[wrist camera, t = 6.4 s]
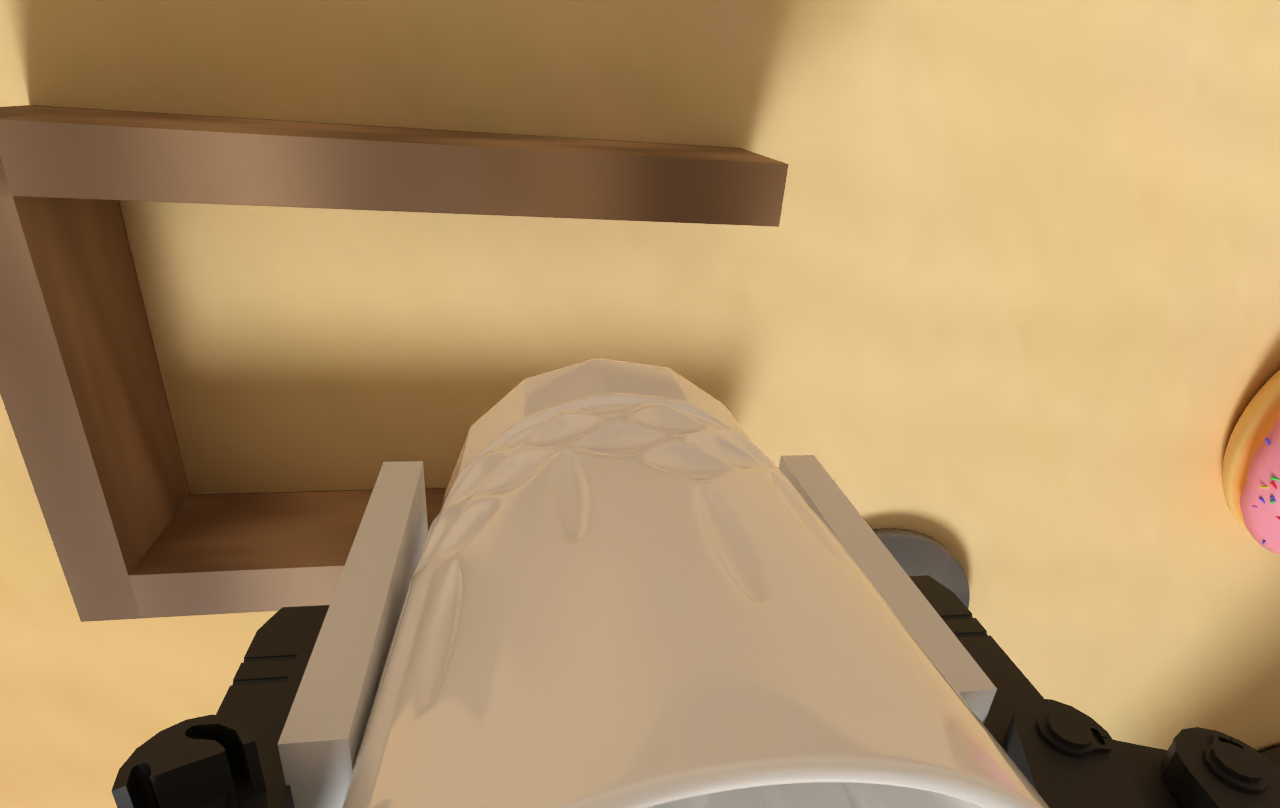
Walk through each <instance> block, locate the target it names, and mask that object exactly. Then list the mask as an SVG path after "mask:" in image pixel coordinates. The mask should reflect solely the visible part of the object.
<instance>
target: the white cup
mask: <svg viewBox="0 0 1280 808" xmlns="http://www.w3.org/2000/svg"><path fill="white" fill-rule="evenodd" d="M342 808H1050V807H1049V806H1048V805H1047V803H1046V802H1045V801H1044V800H1043V798H1042V797H1041V796H1040V794H1039V793H1038V792H1037V791H1036V789H1035V788H1034V787H1033V786H1032V784H1031V783H1030V782H1029V781H1028V779H1027V778H1026V777H1025V776H1024V774H1023V773H1022V772H1021V771H1020V769H1019V768H1018V767H1017V765H1016V764H1015V763H1014V762H1013V760H1012V759H1011V758H1010V757H1009V755H1008V754H1007V753H1006V752H1005V750H1004V749H1003V748H1002V747H1001V745H1000V744H999V743H998V741H997V740H996V739H995V738H994V736H993V735H992V734H991V733H990V731H989V730H988V729H987V728H986V726H985V725H984V724H983V723H982V721H981V720H980V719H979V717H978V716H977V715H976V714H975V712H974V711H973V710H972V709H971V707H970V706H969V705H968V704H967V702H966V701H965V700H964V698H963V697H962V696H961V695H960V693H959V692H958V691H957V690H956V688H955V687H954V686H953V684H952V683H951V682H950V681H949V679H948V678H947V677H946V676H945V674H944V673H943V672H942V670H941V669H940V668H939V667H938V665H937V664H936V663H935V662H934V660H933V659H932V658H931V656H930V655H929V654H928V653H927V651H926V650H925V649H924V648H923V646H922V645H921V644H920V642H919V641H918V640H917V639H916V637H915V636H914V635H913V633H912V632H911V631H910V630H909V628H908V627H907V626H906V625H905V623H904V622H903V621H902V619H901V618H900V617H899V616H898V614H897V613H896V612H895V610H894V609H893V608H892V607H891V605H890V604H889V603H888V602H887V600H886V599H885V598H884V596H883V595H882V594H881V593H880V591H879V590H878V589H877V588H876V586H875V585H874V584H873V582H872V581H871V580H870V579H869V577H868V576H867V575H866V573H865V572H864V571H863V570H862V568H861V567H860V566H859V564H858V563H857V562H856V561H855V559H854V558H853V557H852V556H851V554H850V553H849V552H848V551H847V549H846V548H845V547H844V546H843V544H842V543H841V542H840V541H839V539H838V538H837V537H836V536H835V535H834V533H833V532H832V531H831V530H830V529H829V527H828V526H827V525H826V524H825V523H824V522H823V521H822V519H821V518H820V517H819V516H818V515H817V514H816V513H815V512H814V511H813V510H812V509H811V508H810V507H809V505H808V504H807V503H806V501H805V500H804V499H803V497H802V496H801V495H800V493H799V492H798V491H797V490H796V488H795V487H794V486H793V484H792V483H791V482H790V481H789V479H788V478H787V477H786V476H785V475H784V474H783V473H782V472H781V470H780V469H779V468H778V467H777V466H776V465H775V464H774V463H773V462H772V461H771V460H770V459H769V458H768V457H767V456H766V455H765V454H764V453H763V452H762V451H761V450H759V449H758V448H757V447H756V446H755V445H754V444H753V443H752V441H751V440H750V439H749V437H748V436H747V434H746V433H745V432H744V430H743V429H742V428H741V426H740V425H739V424H738V422H737V421H736V420H735V418H734V417H733V416H732V414H731V413H730V412H729V410H728V409H727V408H726V406H725V405H724V404H723V403H721V402H720V401H718V400H717V399H715V398H714V397H712V396H711V395H709V394H708V393H706V392H705V391H703V390H702V389H700V388H699V387H697V386H696V385H694V384H693V383H691V382H690V381H688V380H687V379H685V378H684V377H682V376H681V375H679V374H678V373H676V372H675V371H673V370H672V369H670V368H669V367H664V366H657V365H649V364H642V363H634V362H627V361H619V360H612V359H604V358H593V359H590V360H586V361H583V362H579V363H576V364H573V365H569V366H566V367H563V368H559V369H556V370H553V371H549V372H546V373H542V374H539V375H536V376H532V377H529V378H526V379H524V380H523V381H522V382H521V383H519V384H518V385H517V386H516V387H515V388H514V389H513V390H511V391H510V392H509V393H508V394H507V395H506V396H505V397H503V398H502V399H501V400H500V401H499V402H498V403H497V404H495V405H494V406H493V407H492V408H491V409H490V410H489V411H487V412H486V413H485V414H484V415H483V416H482V417H481V418H480V419H478V420H477V421H476V422H475V423H474V424H473V425H472V426H471V427H470V429H469V432H468V434H467V437H466V439H465V442H464V445H463V447H462V450H461V452H460V455H459V458H458V460H457V463H456V465H455V468H454V471H453V473H452V476H451V478H450V481H449V484H448V486H447V489H446V492H445V496H444V500H443V503H442V507H441V511H440V513H439V515H438V516H437V517H436V518H435V519H434V520H433V522H432V524H431V526H430V528H429V531H428V534H427V537H426V540H425V543H424V546H423V549H422V553H421V556H420V560H419V563H418V565H417V568H416V570H415V572H414V574H413V576H412V578H411V580H410V584H409V588H408V591H407V594H406V598H405V601H404V604H403V607H402V610H401V613H400V616H399V620H398V623H397V626H396V629H395V632H394V636H393V639H392V642H391V645H390V649H389V652H388V655H387V659H386V662H385V665H384V669H383V672H382V675H381V679H380V682H379V685H378V689H377V692H376V695H375V699H374V702H373V705H372V709H371V712H370V715H369V718H368V722H367V725H366V728H365V732H364V735H363V738H362V742H361V745H360V748H359V752H358V755H357V758H356V762H355V765H354V768H353V772H352V775H351V778H350V782H349V785H348V788H347V792H346V795H345V798H344V801H343V805H342Z"/></svg>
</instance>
